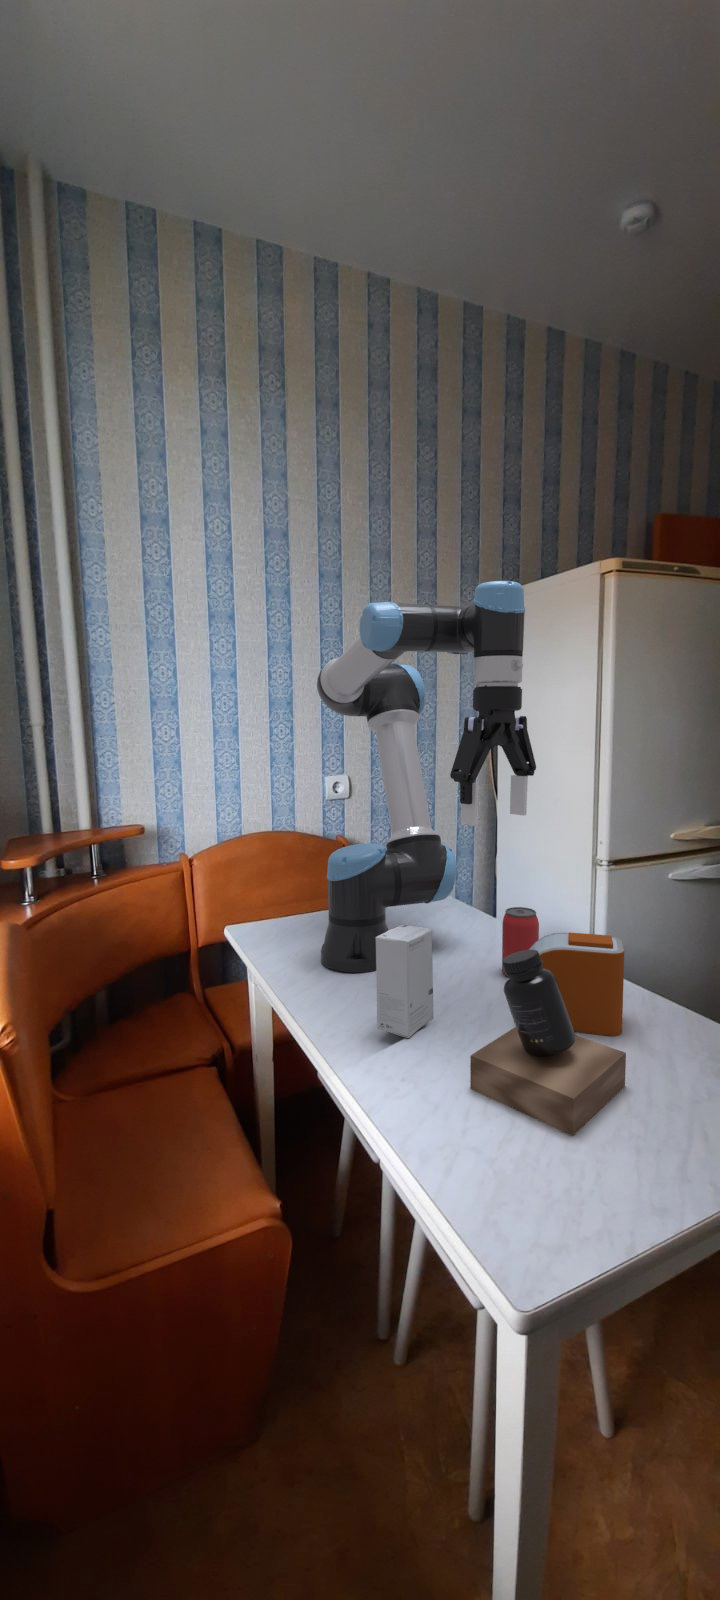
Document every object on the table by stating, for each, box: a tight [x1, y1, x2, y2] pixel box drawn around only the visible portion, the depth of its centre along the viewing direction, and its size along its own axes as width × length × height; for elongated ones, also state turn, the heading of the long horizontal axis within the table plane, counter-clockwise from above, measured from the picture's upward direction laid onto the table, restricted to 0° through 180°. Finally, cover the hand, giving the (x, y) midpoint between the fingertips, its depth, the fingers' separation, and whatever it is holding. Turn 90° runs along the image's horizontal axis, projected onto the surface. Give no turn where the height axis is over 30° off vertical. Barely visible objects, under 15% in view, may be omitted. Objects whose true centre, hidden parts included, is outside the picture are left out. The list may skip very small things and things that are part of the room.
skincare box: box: [375, 924, 434, 1039], centre depth 100 cm, size 8×6×15 cm
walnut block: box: [469, 1026, 627, 1137], centre depth 82 cm, size 14×14×5 cm
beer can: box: [501, 906, 540, 975], centre depth 120 cm, size 7×7×12 cm
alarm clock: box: [529, 931, 625, 1037], centre depth 101 cm, size 15×8×14 cm, turn 72°
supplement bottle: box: [501, 950, 577, 1057], centre depth 82 cm, size 7×7×12 cm
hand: (494, 819), depth 104 cm, fingers open, 13 cm apart
